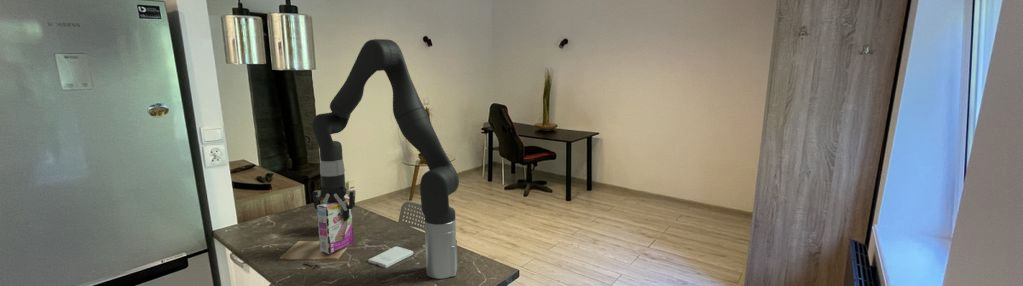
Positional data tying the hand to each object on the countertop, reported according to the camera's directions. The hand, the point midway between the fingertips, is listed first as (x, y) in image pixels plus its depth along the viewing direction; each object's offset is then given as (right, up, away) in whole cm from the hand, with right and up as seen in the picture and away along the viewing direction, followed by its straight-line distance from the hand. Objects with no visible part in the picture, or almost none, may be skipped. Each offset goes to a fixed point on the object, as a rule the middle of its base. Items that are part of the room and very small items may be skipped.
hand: (335, 220), depth 160 cm
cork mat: (-7, -11, +2) cm, 13 cm away
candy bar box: (0, -10, +2) cm, 10 cm away
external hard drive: (+20, -13, -3) cm, 24 cm away
